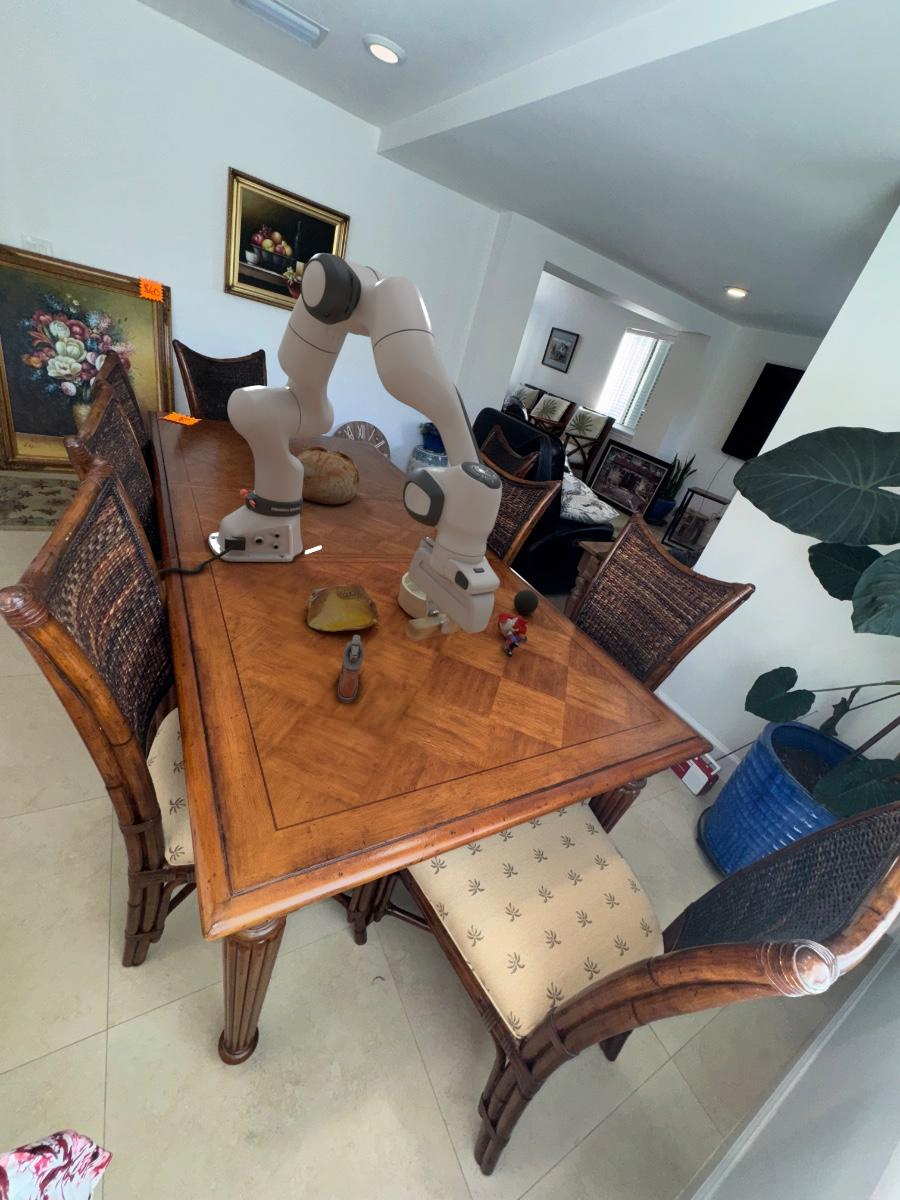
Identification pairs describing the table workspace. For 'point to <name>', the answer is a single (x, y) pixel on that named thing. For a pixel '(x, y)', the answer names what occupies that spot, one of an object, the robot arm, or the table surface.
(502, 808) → the table surface
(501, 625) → the figurine
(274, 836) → the table surface
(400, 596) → the bowl
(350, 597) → the brown yellow irregular block
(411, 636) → the stick
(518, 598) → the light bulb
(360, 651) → the lighter
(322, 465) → the bread
